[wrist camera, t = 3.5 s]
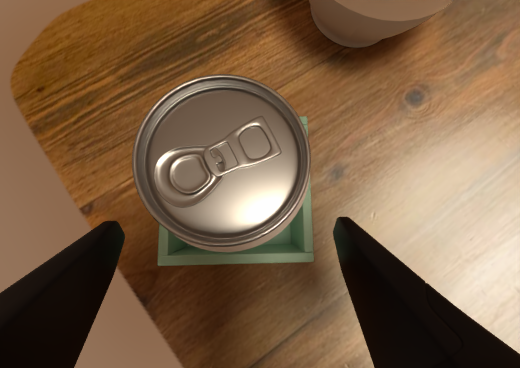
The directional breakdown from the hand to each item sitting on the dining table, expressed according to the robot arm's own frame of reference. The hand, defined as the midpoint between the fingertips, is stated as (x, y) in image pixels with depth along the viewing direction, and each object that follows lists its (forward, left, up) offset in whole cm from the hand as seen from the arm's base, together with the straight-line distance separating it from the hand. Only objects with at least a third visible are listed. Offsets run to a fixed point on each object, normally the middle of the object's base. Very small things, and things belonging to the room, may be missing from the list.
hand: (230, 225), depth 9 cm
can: (+2, +1, -10) cm, 10 cm away
